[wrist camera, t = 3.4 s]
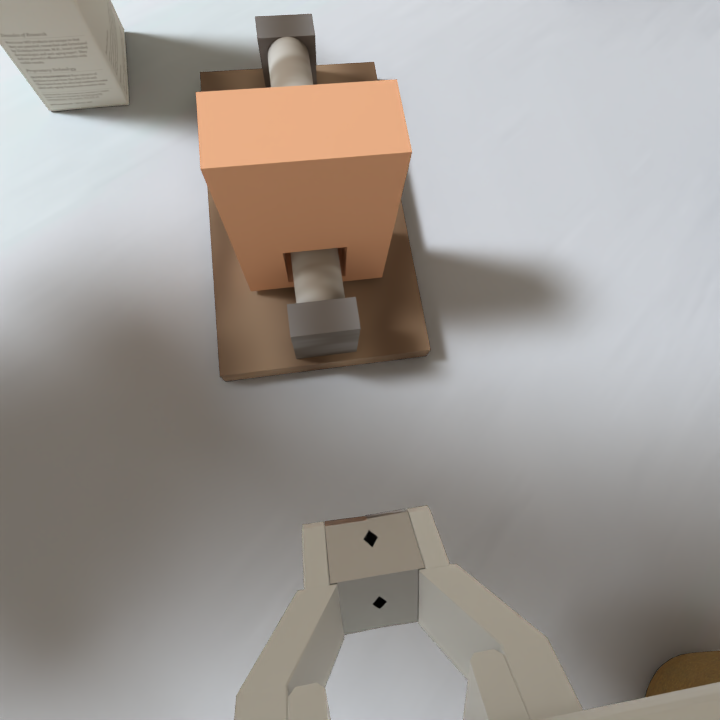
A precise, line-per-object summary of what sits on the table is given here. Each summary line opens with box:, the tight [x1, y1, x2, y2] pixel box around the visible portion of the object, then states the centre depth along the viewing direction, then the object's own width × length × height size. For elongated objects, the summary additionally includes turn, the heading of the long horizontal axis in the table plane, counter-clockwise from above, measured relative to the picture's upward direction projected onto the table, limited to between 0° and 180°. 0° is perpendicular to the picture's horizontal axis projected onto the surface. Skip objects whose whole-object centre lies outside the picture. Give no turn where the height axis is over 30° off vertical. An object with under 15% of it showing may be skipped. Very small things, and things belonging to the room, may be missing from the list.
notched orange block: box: [196, 79, 412, 291], centre depth 25 cm, size 9×4×12 cm, turn 98°
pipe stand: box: [200, 14, 431, 381], centre depth 31 cm, size 14×25×6 cm, turn 8°
